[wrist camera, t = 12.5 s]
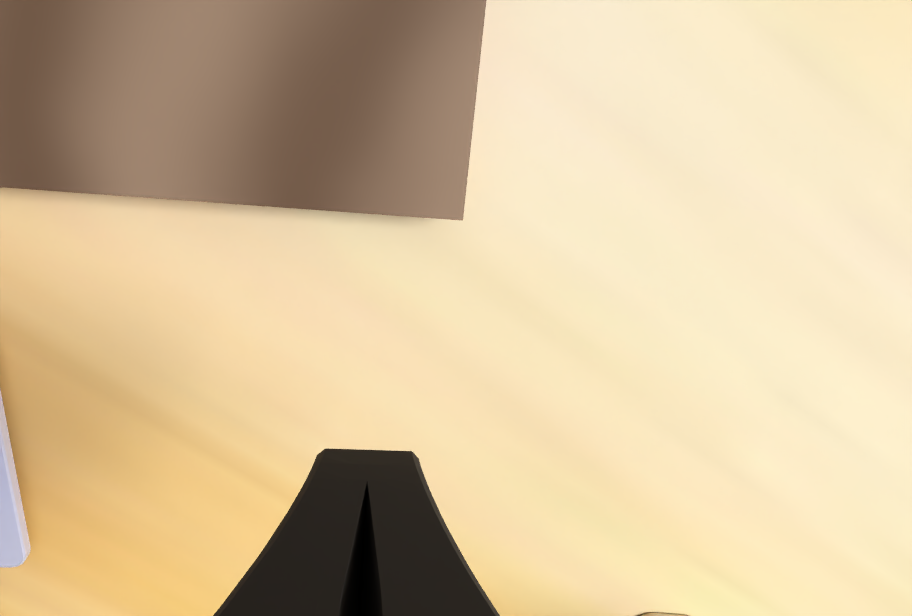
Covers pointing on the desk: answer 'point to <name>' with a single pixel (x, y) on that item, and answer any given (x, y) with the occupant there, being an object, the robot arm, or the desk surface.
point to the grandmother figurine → (662, 614)
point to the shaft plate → (243, 101)
